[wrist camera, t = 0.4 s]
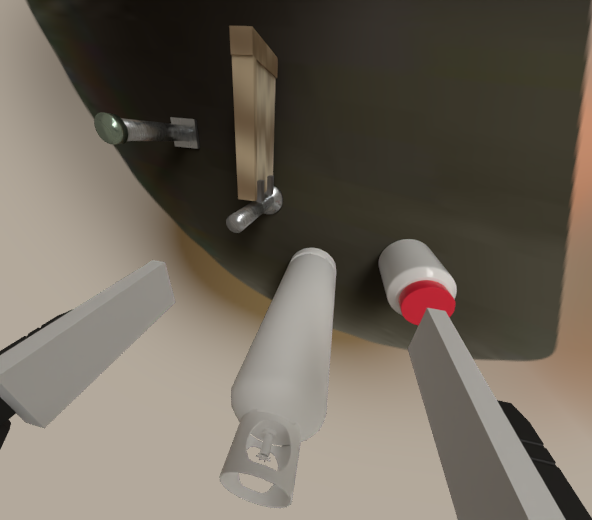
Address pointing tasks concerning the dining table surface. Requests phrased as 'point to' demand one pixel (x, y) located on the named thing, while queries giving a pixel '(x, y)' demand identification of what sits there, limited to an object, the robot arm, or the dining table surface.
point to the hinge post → (255, 211)
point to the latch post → (147, 130)
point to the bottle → (284, 379)
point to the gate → (253, 111)
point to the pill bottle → (415, 280)
